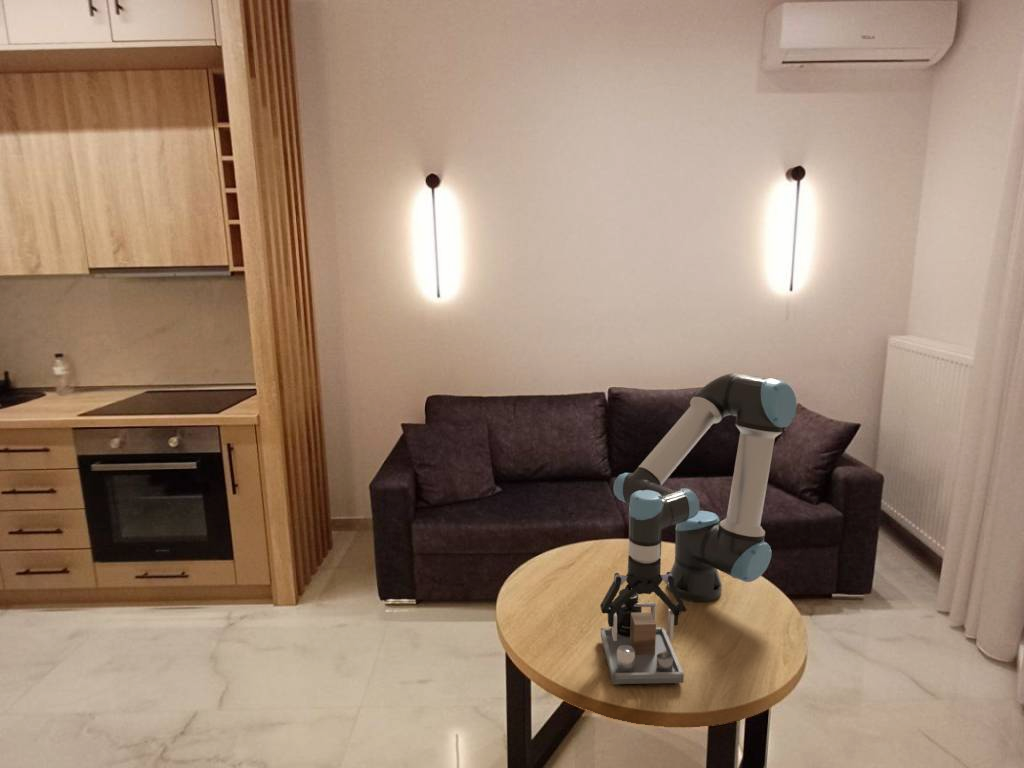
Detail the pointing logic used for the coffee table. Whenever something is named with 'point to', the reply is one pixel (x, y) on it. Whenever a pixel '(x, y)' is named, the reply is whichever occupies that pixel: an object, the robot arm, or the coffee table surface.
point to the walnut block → (643, 633)
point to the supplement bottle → (627, 615)
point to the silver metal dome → (664, 662)
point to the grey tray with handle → (641, 657)
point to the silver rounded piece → (625, 659)
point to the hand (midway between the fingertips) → (642, 637)
